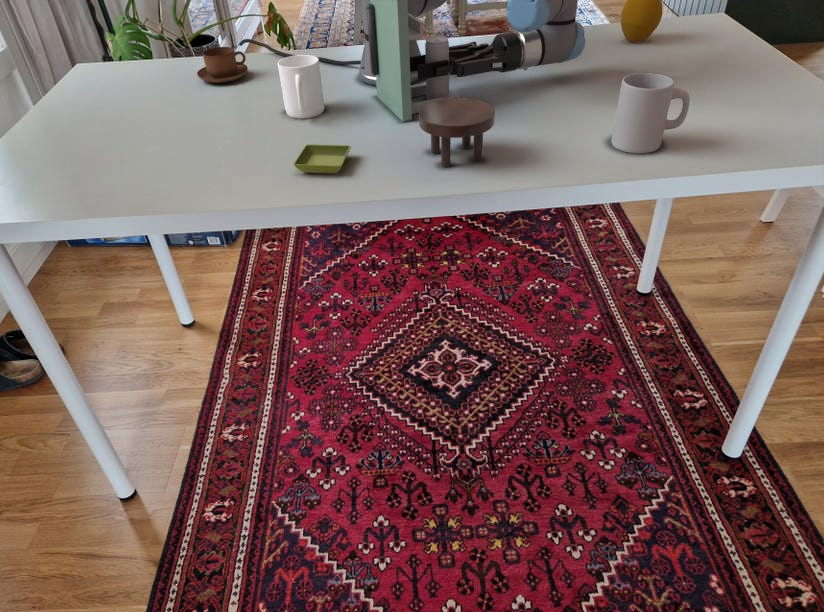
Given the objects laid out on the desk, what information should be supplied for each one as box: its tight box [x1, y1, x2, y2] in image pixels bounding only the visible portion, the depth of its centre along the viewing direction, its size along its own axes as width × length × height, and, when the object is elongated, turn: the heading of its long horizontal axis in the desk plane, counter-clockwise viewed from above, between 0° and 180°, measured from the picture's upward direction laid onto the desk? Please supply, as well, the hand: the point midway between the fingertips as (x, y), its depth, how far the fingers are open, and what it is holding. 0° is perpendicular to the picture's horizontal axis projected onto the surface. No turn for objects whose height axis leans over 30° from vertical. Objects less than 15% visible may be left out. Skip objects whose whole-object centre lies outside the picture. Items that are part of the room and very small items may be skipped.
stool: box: [418, 97, 496, 168], centre depth 112 cm, size 13×13×8 cm
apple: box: [620, 0, 664, 43], centre depth 157 cm, size 10×10×12 cm
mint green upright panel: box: [366, 0, 461, 123], centre depth 128 cm, size 16×16×22 cm
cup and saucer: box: [196, 46, 248, 84], centre depth 153 cm, size 12×12×6 cm
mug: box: [610, 72, 691, 154], centre depth 111 cm, size 12×8×11 cm
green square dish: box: [293, 143, 352, 174], centre depth 114 cm, size 9×9×2 cm
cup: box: [277, 54, 325, 119], centre depth 131 cm, size 8×12×10 cm
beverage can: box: [424, 35, 450, 100], centre depth 133 cm, size 5×5×12 cm
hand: (413, 68), depth 131 cm, fingers closed on beverage can, 5 cm apart
